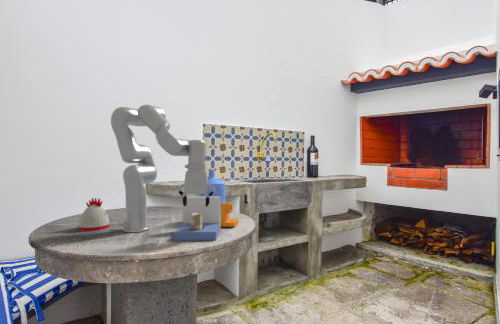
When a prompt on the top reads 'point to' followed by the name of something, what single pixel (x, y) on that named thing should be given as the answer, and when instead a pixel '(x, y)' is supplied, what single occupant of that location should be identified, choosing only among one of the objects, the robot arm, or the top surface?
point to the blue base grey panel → (208, 215)
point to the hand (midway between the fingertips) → (196, 205)
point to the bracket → (227, 215)
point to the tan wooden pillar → (196, 221)
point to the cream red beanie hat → (94, 217)
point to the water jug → (219, 188)
